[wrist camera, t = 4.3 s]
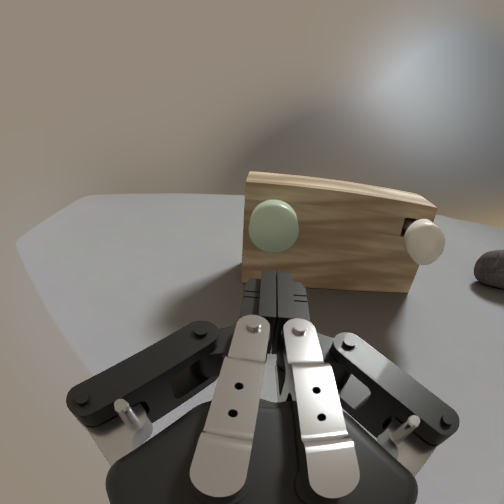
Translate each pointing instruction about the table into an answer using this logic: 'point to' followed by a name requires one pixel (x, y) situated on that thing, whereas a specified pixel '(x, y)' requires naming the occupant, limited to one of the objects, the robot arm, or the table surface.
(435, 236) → the button white
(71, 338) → the table surface
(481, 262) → the perforated stone tool
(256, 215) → the button sage
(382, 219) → the light wood rectangular block
